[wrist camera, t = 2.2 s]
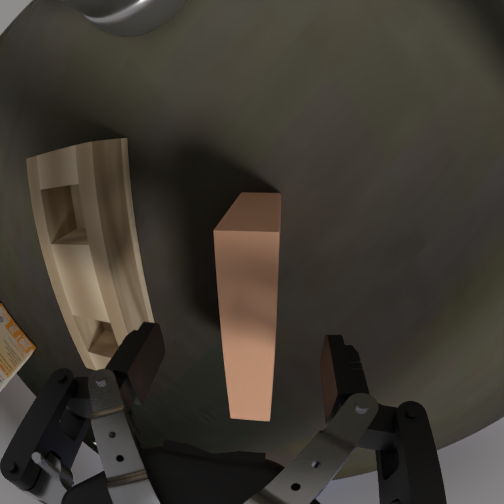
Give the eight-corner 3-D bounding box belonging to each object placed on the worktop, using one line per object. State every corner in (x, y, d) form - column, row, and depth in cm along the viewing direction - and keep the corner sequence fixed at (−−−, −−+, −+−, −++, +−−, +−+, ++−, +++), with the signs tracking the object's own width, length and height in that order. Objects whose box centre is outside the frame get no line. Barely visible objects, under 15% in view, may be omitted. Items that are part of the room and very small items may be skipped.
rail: (127, 137, 16) (91, 141, 12) (162, 352, 23) (146, 383, 19) (62, 151, 17) (26, 158, 13) (105, 340, 24) (86, 367, 20)
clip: (280, 193, 17) (279, 232, 10) (275, 346, 21) (269, 421, 15) (241, 192, 17) (213, 230, 10) (245, 344, 22) (230, 417, 15)
